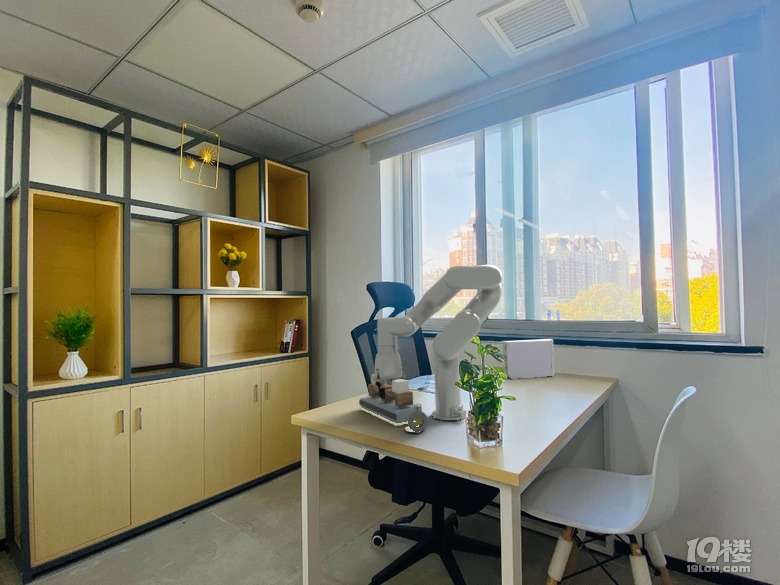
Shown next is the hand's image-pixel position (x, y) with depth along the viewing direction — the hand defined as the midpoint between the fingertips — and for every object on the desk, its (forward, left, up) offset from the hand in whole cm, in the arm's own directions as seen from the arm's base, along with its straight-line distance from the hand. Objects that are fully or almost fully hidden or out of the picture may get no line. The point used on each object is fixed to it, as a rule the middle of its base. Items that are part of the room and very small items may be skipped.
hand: (389, 396), depth 147 cm
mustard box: (+8, 0, +3) cm, 8 cm away
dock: (0, 0, -7) cm, 7 cm away
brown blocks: (0, 0, -1) cm, 1 cm away
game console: (+10, -98, -8) cm, 98 cm away
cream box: (-7, 0, +3) cm, 8 cm away
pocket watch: (-21, +4, -7) cm, 23 cm away
